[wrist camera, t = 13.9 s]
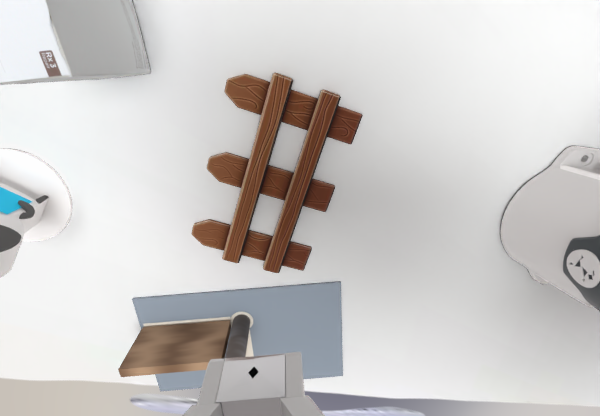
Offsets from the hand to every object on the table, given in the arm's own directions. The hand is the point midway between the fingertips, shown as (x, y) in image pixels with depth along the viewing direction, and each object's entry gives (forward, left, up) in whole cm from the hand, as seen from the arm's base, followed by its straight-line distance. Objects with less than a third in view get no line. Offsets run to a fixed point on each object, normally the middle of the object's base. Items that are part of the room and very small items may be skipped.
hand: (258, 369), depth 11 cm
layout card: (+7, +25, -29) cm, 39 cm away
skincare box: (+15, -14, -29) cm, 36 cm away
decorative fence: (+1, +2, -30) cm, 30 cm away
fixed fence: (+13, +22, -29) cm, 39 cm away
